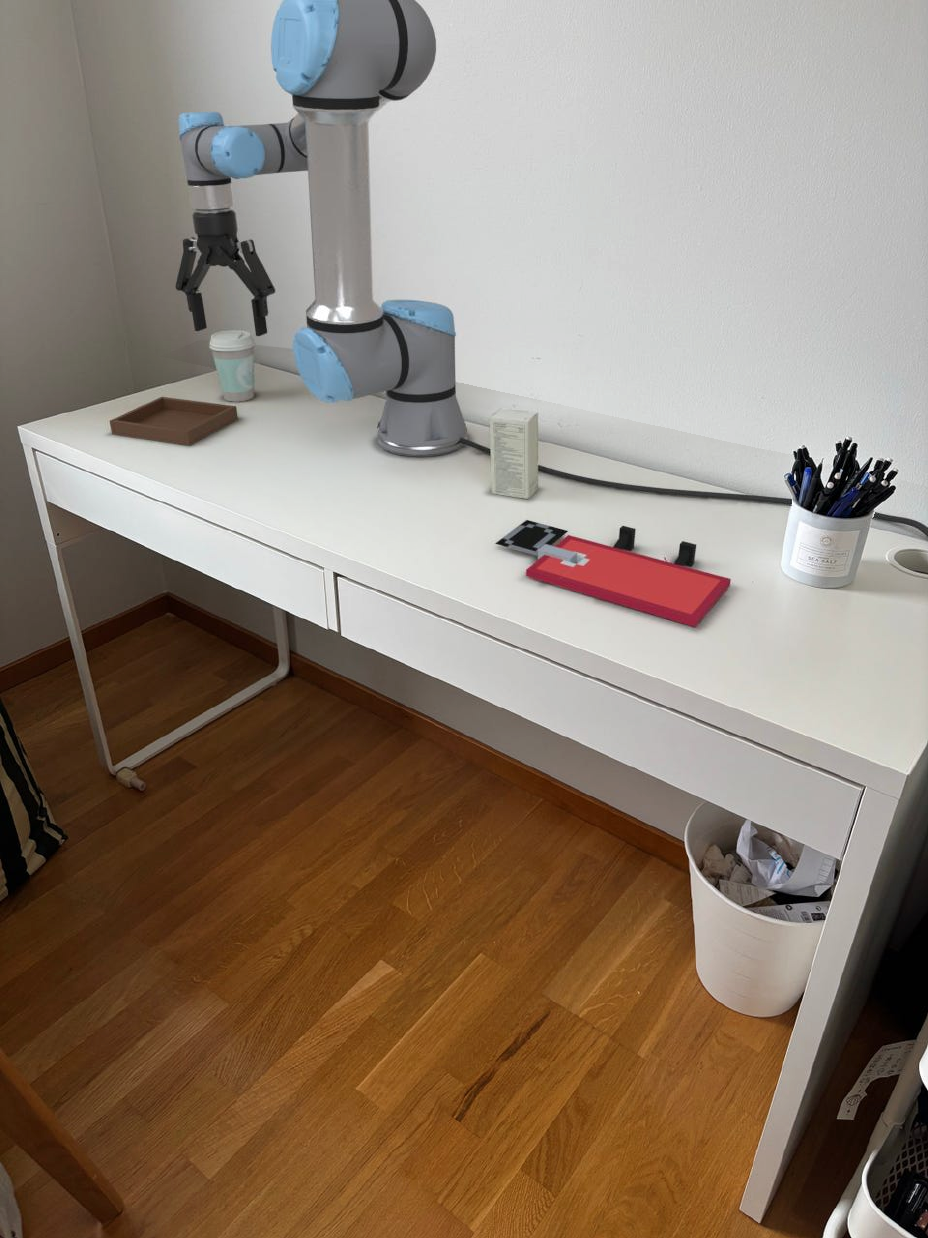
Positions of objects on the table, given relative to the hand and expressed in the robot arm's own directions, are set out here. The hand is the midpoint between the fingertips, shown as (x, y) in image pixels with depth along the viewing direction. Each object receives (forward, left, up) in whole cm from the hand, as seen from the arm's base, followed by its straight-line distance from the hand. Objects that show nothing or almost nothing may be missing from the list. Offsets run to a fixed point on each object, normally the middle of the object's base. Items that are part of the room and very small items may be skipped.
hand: (231, 332), depth 180 cm
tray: (+1, +18, -13) cm, 22 cm away
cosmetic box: (-66, +25, -13) cm, 71 cm away
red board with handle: (-85, +45, -13) cm, 97 cm away
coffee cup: (0, 0, -13) cm, 13 cm away
